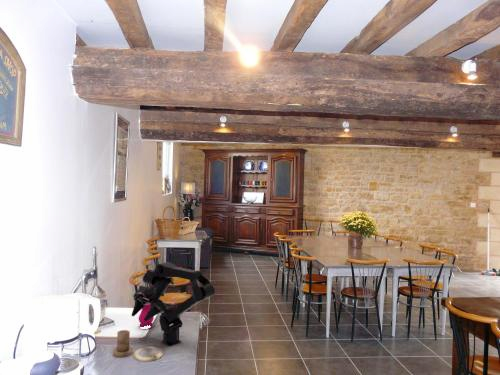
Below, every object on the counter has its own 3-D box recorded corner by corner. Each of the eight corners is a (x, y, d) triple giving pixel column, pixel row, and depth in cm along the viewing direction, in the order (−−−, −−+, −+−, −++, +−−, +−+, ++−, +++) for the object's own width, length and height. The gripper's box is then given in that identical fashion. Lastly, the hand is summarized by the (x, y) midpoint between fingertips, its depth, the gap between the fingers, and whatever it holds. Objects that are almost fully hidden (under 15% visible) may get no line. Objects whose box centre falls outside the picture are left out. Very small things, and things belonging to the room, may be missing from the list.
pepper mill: (149, 330, 201) (150, 290, 200) (135, 329, 202) (136, 289, 201) (155, 325, 208) (156, 286, 207) (142, 324, 209) (143, 285, 209)
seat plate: (154, 346, 182) (154, 340, 182) (168, 355, 173) (168, 348, 173) (128, 354, 174) (128, 347, 174) (142, 364, 165) (142, 356, 165)
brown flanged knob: (127, 347, 180) (128, 327, 180) (136, 353, 174) (136, 333, 174) (109, 352, 175) (110, 331, 174) (118, 359, 169) (118, 337, 169)
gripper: (136, 275, 190) (115, 303, 182) (161, 281, 178) (139, 313, 169) (150, 288, 196) (130, 317, 188) (175, 296, 184) (155, 327, 176)
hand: (138, 318), depth 180 cm, fingers open, 9 cm apart
